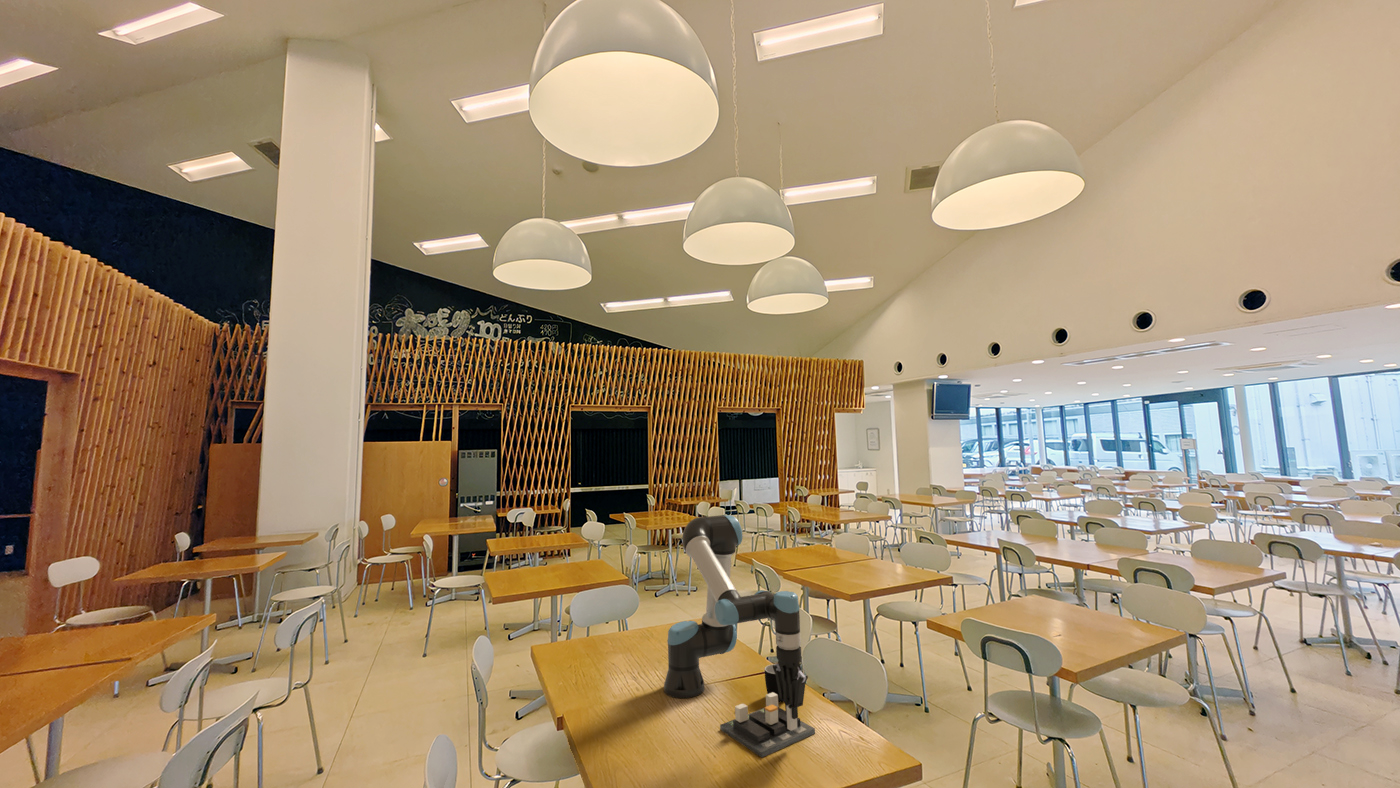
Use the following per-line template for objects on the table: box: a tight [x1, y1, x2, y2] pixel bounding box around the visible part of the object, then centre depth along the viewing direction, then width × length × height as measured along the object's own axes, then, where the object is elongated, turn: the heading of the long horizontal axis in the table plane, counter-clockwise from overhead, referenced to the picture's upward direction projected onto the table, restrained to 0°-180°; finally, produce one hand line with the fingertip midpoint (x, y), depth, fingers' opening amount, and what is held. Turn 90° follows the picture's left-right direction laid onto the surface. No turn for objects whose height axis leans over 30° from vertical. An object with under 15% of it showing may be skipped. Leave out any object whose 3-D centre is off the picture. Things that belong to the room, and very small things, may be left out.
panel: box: [719, 706, 816, 759], centre depth 168 cm, size 20×22×4 cm
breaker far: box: [765, 692, 779, 707], centre depth 176 cm, size 2×3×4 cm
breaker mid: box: [764, 704, 779, 725], centre depth 166 cm, size 2×3×4 cm
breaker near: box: [734, 703, 749, 722], centre depth 168 cm, size 2×3×4 cm
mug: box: [764, 663, 784, 703], centre depth 192 cm, size 12×9×10 cm
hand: (792, 728), depth 159 cm, fingers closed
